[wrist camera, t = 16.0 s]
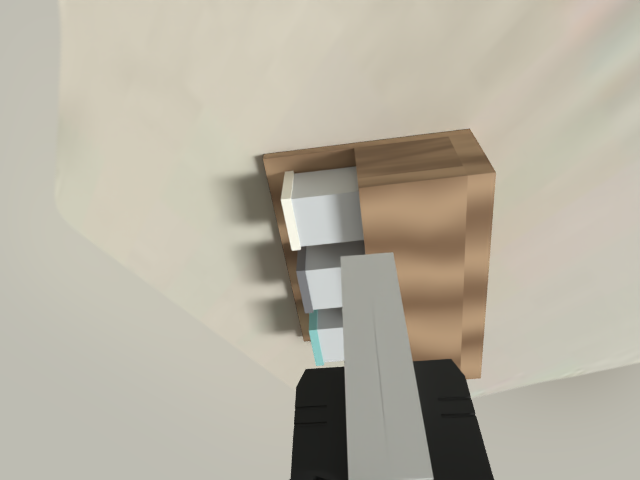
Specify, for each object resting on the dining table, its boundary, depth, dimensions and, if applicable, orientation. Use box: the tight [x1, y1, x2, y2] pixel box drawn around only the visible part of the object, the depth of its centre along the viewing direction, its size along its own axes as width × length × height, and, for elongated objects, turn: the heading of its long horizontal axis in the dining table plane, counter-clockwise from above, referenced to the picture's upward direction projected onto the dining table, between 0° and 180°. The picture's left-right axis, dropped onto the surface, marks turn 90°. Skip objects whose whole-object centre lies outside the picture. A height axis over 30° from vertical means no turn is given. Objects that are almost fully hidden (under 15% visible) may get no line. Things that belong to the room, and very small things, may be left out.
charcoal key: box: [296, 240, 366, 313], centre depth 47 cm, size 5×13×5 cm, turn 98°
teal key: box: [309, 307, 344, 366], centre depth 51 cm, size 5×13×5 cm, turn 98°
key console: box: [263, 129, 496, 379], centre depth 46 cm, size 23×18×8 cm
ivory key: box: [281, 166, 364, 251], centre depth 43 cm, size 5×13×5 cm, turn 98°
